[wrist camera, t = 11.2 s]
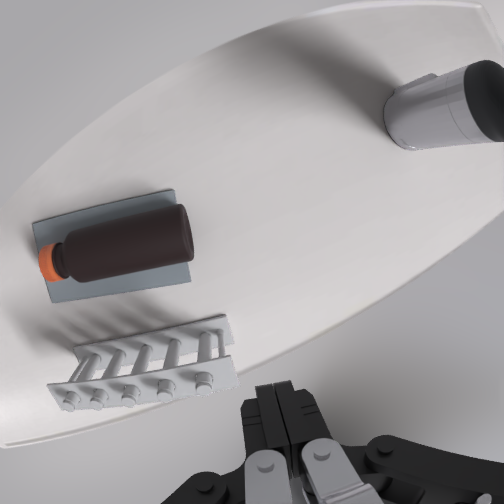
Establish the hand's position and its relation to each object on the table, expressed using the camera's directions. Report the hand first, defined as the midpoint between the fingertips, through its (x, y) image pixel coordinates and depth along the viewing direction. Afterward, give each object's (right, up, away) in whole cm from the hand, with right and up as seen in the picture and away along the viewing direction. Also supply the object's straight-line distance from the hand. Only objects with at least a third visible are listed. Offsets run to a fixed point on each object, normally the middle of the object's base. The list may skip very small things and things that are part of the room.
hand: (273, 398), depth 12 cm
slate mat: (-21, +6, +25) cm, 33 cm away
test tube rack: (-16, -7, +29) cm, 34 cm away
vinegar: (-8, +9, +23) cm, 26 cm away
